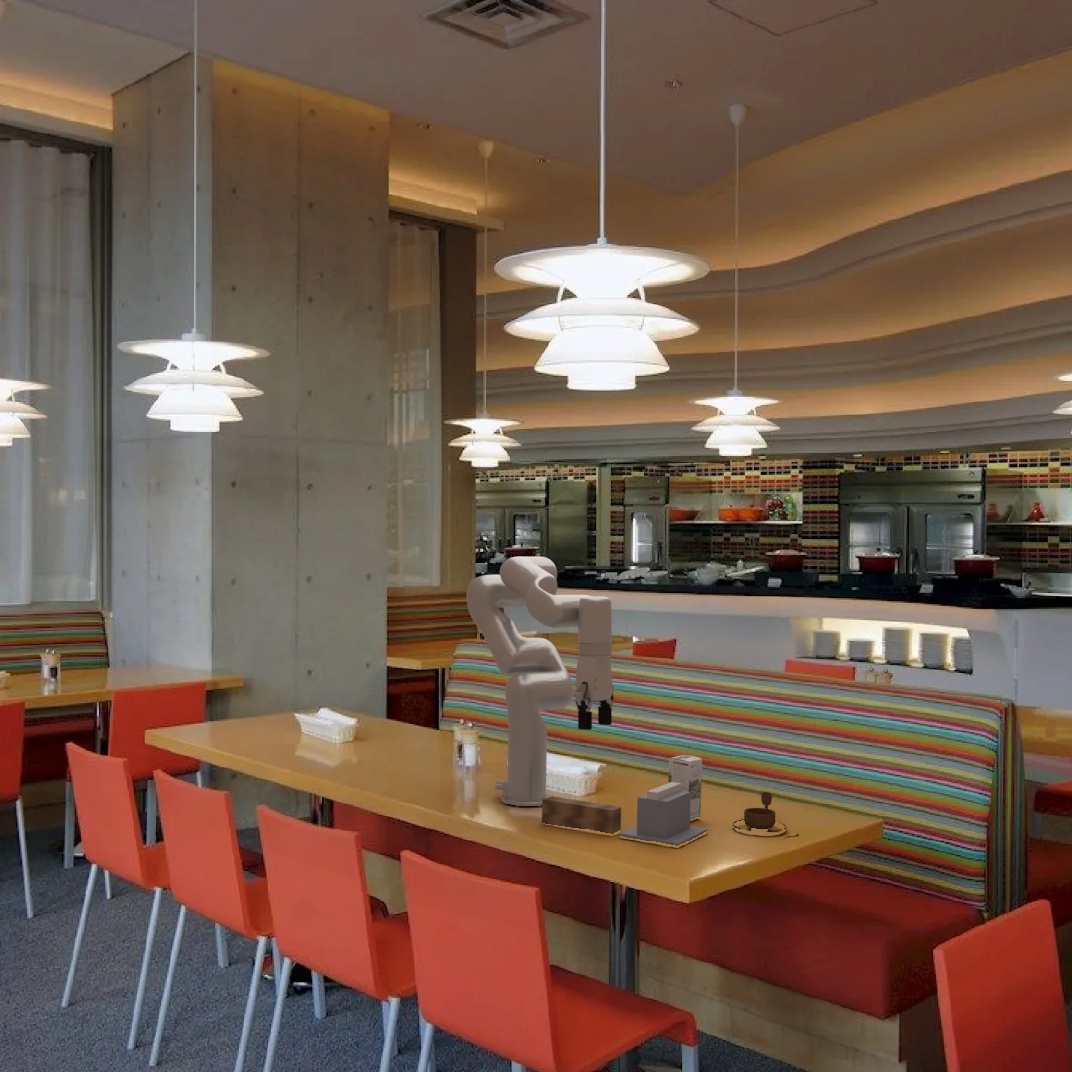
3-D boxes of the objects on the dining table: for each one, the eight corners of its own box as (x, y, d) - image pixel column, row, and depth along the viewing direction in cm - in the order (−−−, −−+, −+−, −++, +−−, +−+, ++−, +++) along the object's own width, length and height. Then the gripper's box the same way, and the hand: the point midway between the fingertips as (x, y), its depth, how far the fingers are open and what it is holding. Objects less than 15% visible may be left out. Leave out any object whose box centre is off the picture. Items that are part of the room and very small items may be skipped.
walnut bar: (541, 825, 267) (542, 799, 267) (550, 822, 270) (551, 796, 270) (612, 837, 257) (612, 810, 257) (620, 834, 261) (621, 807, 261)
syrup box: (679, 815, 279) (681, 753, 279) (701, 819, 275) (702, 757, 275) (666, 819, 274) (667, 757, 274) (688, 824, 271) (689, 760, 270)
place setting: (711, 829, 268) (711, 803, 268) (762, 815, 282) (763, 791, 282) (775, 844, 256) (776, 817, 256) (826, 829, 270) (827, 804, 270)
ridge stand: (619, 838, 256) (620, 788, 256) (650, 825, 269) (651, 777, 269) (677, 849, 249) (678, 797, 249) (707, 834, 261) (708, 785, 261)
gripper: (597, 648, 277) (597, 721, 276) (561, 652, 262) (562, 730, 261) (626, 649, 273) (626, 723, 272) (592, 653, 258) (592, 732, 257)
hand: (595, 726), depth 267 cm, fingers open, 9 cm apart
